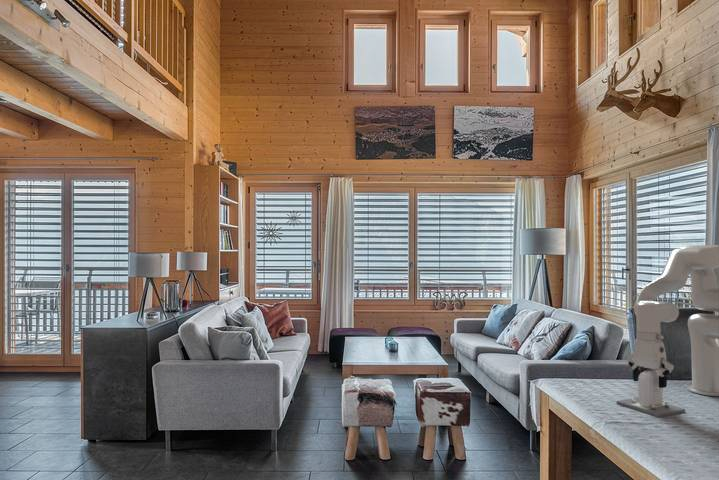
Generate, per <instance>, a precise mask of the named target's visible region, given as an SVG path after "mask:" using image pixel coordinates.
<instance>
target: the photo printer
mask: <svg viewBox="0 0 719 480" xmlns="http://www.w3.org/2000/svg"><path fill="white" fill-rule="evenodd" d="M659 376H660V375H659V373H658V372H657V370H653V369H647V370H644V371H643V372H641V374H640V375H639V377H638V381H637V383H638V398H639V404H640V405H641V406H644V407H651V405H652V404H653V405H660V404H663V403H664V388H659Z"/></svg>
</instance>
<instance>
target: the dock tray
mask: <svg viewBox="0 0 719 480" xmlns="http://www.w3.org/2000/svg"><path fill="white" fill-rule="evenodd" d="M616 405H618V406H619V405H620V406H622V405H623V406H622V407H625V408H628V409H631V410H635V411H638V412H642V413H645V414H648V415H650V416H655V417H657V418H660V417H661V418H662V417H666V416H671V415H677V414H682V413H683V414H684V413H685V412H686V409H685V408H683V407H678V406H675V405H673V404H672V405H671V404H670V403H669V402H667V401H665V402H663V404H660V405H653V404H652V405H651V407H644V406H641V405H640V404H639V397H635V398H634V397H633V398H627V399H622V400H621V399H620V400H616Z"/></svg>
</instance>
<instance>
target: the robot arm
mask: <svg viewBox="0 0 719 480" xmlns="http://www.w3.org/2000/svg"><path fill="white" fill-rule="evenodd" d="M718 268H719V244H705V245H702V244H700V245H699V244H697V245H694V244H693V245H684V246H681V247H678V248H676V249H673V250H672V251H671V252H670V254H669V256H668V258H667V260H666V263H665V265H664V268H663V269H662V272H661V274H660V276H659V277H658V278H656V279H654V280H652V281H651V282H649V283H648V284H647V285H645V286H644V287H643V288H642V289H641V290H640V291H639V294H637V295H638V296H637V298H636V300H635V302H634V306H633V312H634V315H635V316H636V319H635V320H636V321H635V322H636V323H635V324H636V326H635V327H636V338H635V340H634V343H633V353H632V354H630V355H629V354H628V355H626V357H625V358H626V360H627V362H628V365H629V366H630V369H631V371H632V378H633V380H632V381H633V382H638V377H639V375H640V374H641V373H642V372H641V368H644V369H647V370H656V371H657V372H658V373H659V375H660V376H659V388H663V389H664V388H666V387H667V385H668V380H667V379H668V378H667V377H668V376H669V375H670V374H671V373H672V371H673V369H674V368H675V366H674V364H673V363H671V362H669V361H668V360H667V352H666V348H665V347H666V346H665V343H664V342H663V341H662V340H664V338H665V337H664V335H662V334H661V332H662V330H661V322H662V323H672V322H674V321H676V320H677V319H678V317H679V315H680V311H679V308H678V307H677V305H676V304H674V303H672V302H670V301H660V300H655V299H656V298H658V297H660V296H662V295H666V294H670V293H673V292H676V291H679V290H681V289H683V288H684V287H685V286H686V284H687V281H688V279H689V276H690V290H691V291H690V292H691V294H690V295H691V296H690V297H691V304H692V306H693V308H695V309H697V310H699V311H700V310H701V311H704V312H705V311H708V312H715V313H716V312H717V313H719V287H718V285H717V283H718V281H717V275H716V272H715V271H714V270H715V269H718ZM687 328H688V332H689V337H690V348H691V353H690V354H691V355H690V356H691V359H690V360H691V385H688V386H687V390H688V391H689V392H691V393H694V394H698V395H703V396H711V397H719V345H718V344H717V343H718V342H716V341H715V339H716V340H719V314H710V313H694V314H692V315H690V316H689V317H688V319H687Z"/></svg>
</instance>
